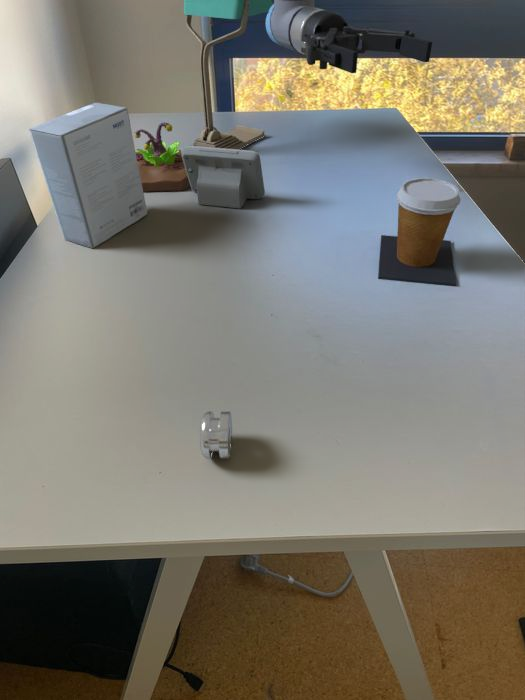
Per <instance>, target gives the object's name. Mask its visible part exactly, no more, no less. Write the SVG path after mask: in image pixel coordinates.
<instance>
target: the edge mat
mask: <svg viewBox="0 0 525 700" xmlns="http://www.w3.org/2000/svg"><path fill="white" fill-rule="evenodd" d="M397 238H398V235H385V234H381V236H380V245H379V260H378V261H379V262H378V276H377V279H378V280H387V281H389V280H390V281H399V282H408V283H409V282H410V283H419V284H429V285H438V286H439V285H440V286H451V287H456V286H457V277H456V270H455V264H454V263H455V262H454V256H453V255H454V254H453V249H452V247H453V246H452V241H451V240H447V239H443V241H442V244H441V246H440V249H439V252H438V254H437V257H436V259H435V262H434V263H433V264H432V265H429V266H426V267H413V266H409V265H406V264H404V263H402V262H401V261H399V260H398V258H397Z"/></svg>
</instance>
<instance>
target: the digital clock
mask: <svg viewBox="0 0 525 700" xmlns="http://www.w3.org/2000/svg"><path fill="white" fill-rule="evenodd" d="M180 150H181V155H182V159H183V162H184V165H185V169H186V172H187V175H188V179H189V182H190V186H189V187H190V188H191V191H192V192H193V193H196V194H197V202H198V205H200V206H201V205H202V206H211V207H221V208H231V209H241V208H242V207H243V205H244V204H245V202H246V201H247V199H252V200H259V199H262V198H264V196H265V193H266V191H265V184H264V176H263V169H262V162H261V161H262V160H261V157H260V156H261V155H260V154H259V153H258V152H257V151H255V150H248V149H241V150H238V149H225V148H212V147H199V146H192V145H187V146H182V147H181V149H180Z"/></svg>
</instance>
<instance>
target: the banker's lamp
mask: <svg viewBox="0 0 525 700" xmlns="http://www.w3.org/2000/svg"><path fill="white" fill-rule="evenodd" d="M273 4H274V2H273V1H272V0H183V15H185V20H184V21H185V22H184V23H185V25H186V27H187V28H188V30H189V31H190V32H191V33H192V34H193V36H194V37H195V38H196V39H197V40H198V42H199V43H200V46H201V47H200V54H199V68H200V69H199V70H200V79H201V81H200V82H201V93H202V105H203V115H204V128H203V129H202V130H200V133H199V137H198V138H196V139H195V140H193V143H192V145H191V146H199V147H212V148H225V149H240V148H242V147H244V146H246V145H247V144H250V143H252V142H253V141H255V140H257V139H259V138H261V137H263V136H264V137H265V130H264V129H259V128H254V127H249V126H244V125H239V124H237V125H236V127H235V128H234V129H231V130H230V131H227V132H223V131H220V130H218V129H217V127H215V126H214V117H213V105H212V103H213V102H212V92H211V80H210V79H211V78H210V67H209V66H210V65H209V59H210V50H211V48H212V47H213V46H215V45H216V44H220V43H222V42H225V41H229V40H231V39H234V38H237V37H239V36H242V35H243V34H244V33H245V32H246V30H247V24H248V17H251V16H252V17H253V16H256V15H260V14H264V13H268V12H269V9H270V8H271V6H272V5H273ZM193 16H197V17H207V18H217V19H227V20H228V19H229V20H238V19H241V22H240V27H239V28H238V29H236V30H234V31H232V32H230V33H227V34H225V35H222V36H220V37H218V38H215V39H214V40H211V41H209V42H208V43H207V42H206V40H204V39H203V38H202V37H201V35H199V34H198V33H197V32H196V30H194V29H193V26H192V18H193Z"/></svg>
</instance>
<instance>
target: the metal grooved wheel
mask: <svg viewBox="0 0 525 700" xmlns="http://www.w3.org/2000/svg"><path fill="white" fill-rule="evenodd" d="M231 434H232V435H233V417H232V413H231V411H230V410H229V411H226V410H225V411H222V410H221V411H220V414H219V417H215V414H214V412H213V411H212V410H211V411H210V410H209V411H205V412H204V413H203V414H202V417H201V420H200V425H199V448H200V449H199V450H200V454H201V455H202V457H203V458H205V459H212V458H211V453H212V452H213V453H216V452H217V453H218V454H219V458H220V459H223V458H228V459H227V460H229V459H230V458H229V455H230V444H231ZM230 456H231V455H230Z"/></svg>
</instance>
